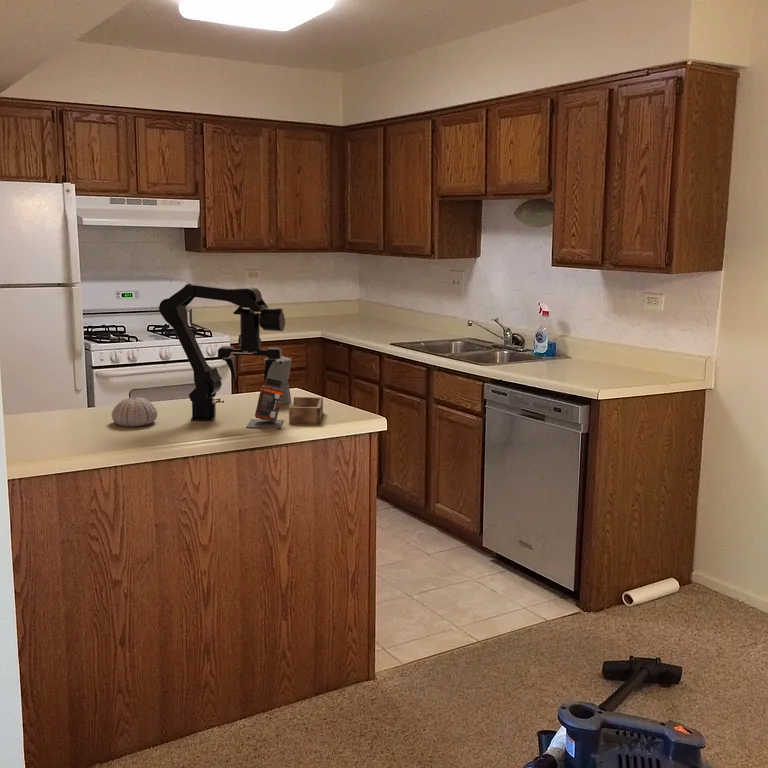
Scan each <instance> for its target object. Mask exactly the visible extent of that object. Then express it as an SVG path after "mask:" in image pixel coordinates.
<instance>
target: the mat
mask: <svg viewBox="0 0 768 768" xmlns="http://www.w3.org/2000/svg"><path fill="white" fill-rule="evenodd" d="M283 423H284V419H276V421H275V422H272V421H268V420H263V419H258V418H251V419H250V421H249V422H248V424H247V425H246V427H245V428H246V429H266V428H280V427H282V425H283ZM280 429H281V428H280Z"/></svg>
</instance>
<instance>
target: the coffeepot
mask: <svg viewBox="0 0 768 768" xmlns="http://www.w3.org/2000/svg"><path fill="white" fill-rule="evenodd" d="M267 358H268V357H266V358H263V361H264V364H265V363H266V359H267ZM292 361H293V359H292V358H290V357H286V356H283V355H282V356H281V358H280V359H277V360H276V361H275V362H272V365H271V367H270V369H269V373H268V376H267V378H273V379H277V380H281V381H282V383H281V389H282V390H283V394H282V399H281V403H280V404H283V405H289V404H290V403H291V402H292V397H291V391H290V385H289V378H290V373H291V367H292ZM288 403H289V404H288Z"/></svg>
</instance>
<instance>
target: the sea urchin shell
mask: <svg viewBox="0 0 768 768" xmlns="http://www.w3.org/2000/svg"><path fill="white" fill-rule="evenodd" d="M157 418H158V411H157V409H156V407H155V406H154V404H153V403H152V402H150V401H149V400H148V399H146V398H143V397H138V396H132V397H126V398H124V399H122V400H121V401H119V402H118V403H117V404H116V405H115V406H114V407H113V410H112V412H111V419H112V421H113V422H115V424H117V425H118V426H121V427H128V428H129V427H141V426H145V425H149V424H152V423H154V422H155V421H156V420H157Z"/></svg>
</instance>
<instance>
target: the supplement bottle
mask: <svg viewBox="0 0 768 768" xmlns="http://www.w3.org/2000/svg"><path fill="white" fill-rule="evenodd" d="M265 382H266V383H265V384H263V385H262V386H261V388H260V391H259V396H258V401H257V405H256V408H255V414H254V417H255V419H263V420H268V421H272V422H275V421H276V420H278V415H279V411H280V406H281V405H280V403H281V399H282V394H283V390H282V389H281V383H282V381H281V380H277V379H273V378H267V379H266V381H265Z"/></svg>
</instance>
